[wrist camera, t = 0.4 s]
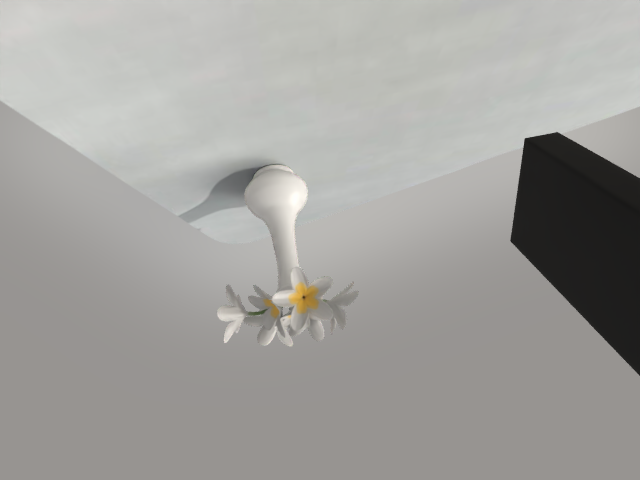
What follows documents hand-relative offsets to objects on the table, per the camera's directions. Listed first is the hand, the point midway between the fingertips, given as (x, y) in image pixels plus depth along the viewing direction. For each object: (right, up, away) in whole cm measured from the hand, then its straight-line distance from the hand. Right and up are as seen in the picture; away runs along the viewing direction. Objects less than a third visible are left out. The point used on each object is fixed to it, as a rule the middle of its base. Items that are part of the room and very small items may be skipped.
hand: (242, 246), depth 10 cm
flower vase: (-6, +10, +58) cm, 59 cm away
